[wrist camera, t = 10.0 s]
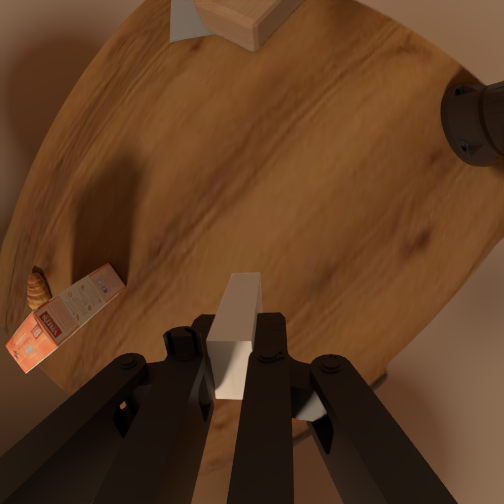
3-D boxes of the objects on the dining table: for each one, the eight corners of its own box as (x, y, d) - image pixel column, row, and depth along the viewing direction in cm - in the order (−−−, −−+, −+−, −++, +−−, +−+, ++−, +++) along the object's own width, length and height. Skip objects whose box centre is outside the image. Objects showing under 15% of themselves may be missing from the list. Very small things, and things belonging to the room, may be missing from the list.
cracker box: (108, 259, 47) (30, 310, 27) (128, 286, 48) (59, 350, 28) (69, 294, 50) (2, 345, 30) (87, 318, 51) (25, 376, 31)
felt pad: (241, -13, 32) (241, -14, 32) (244, 30, 35) (244, 29, 34) (172, -1, 33) (171, -2, 33) (170, 42, 36) (169, 41, 35)
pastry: (28, 270, 49) (17, 276, 46) (47, 272, 49) (36, 278, 45) (37, 308, 52) (28, 315, 48) (56, 312, 52) (46, 320, 48)
